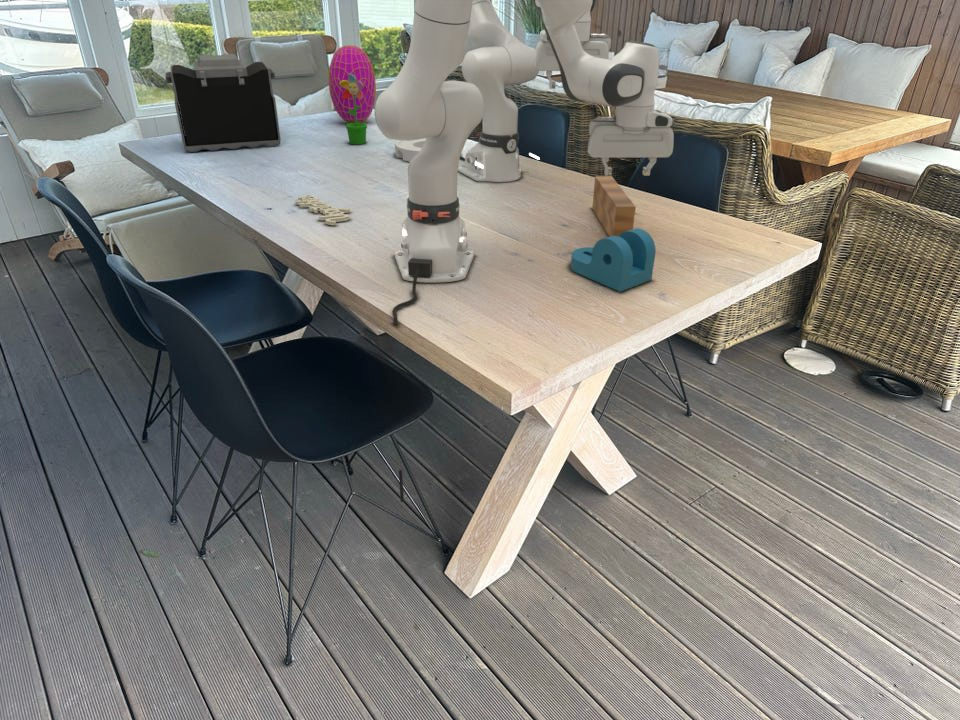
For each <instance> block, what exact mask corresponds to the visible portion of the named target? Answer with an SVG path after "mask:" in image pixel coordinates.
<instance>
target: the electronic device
mask: <svg viewBox="0 0 960 720" xmlns="http://www.w3.org/2000/svg"><path fill="white" fill-rule="evenodd" d="M197 58H198V59H197V60H195V61H193V67H194V69H193V68H189V67H187V66H184V65H181V64H171V65H170V71H167V72H165V74H164V75H165V82H166V84H171V85H172V90H173V94H174V106H175V107H174V108H175V111H176V112H175V113H176V116H177V121H178V126H179V131H180V136H181V141H182V146H183V149H184V150H185V151H186V152H187V153H188V152H189V153H199V152H200V151H202V150H203V151H204V150H207V151H210V152H214V151H219V150H220V149H228V150H239V149H240V148H245V147H247V148H250V149H255V148H258V147H260V146H267V147H277V146H279V145H281V141H282V139H281V131H280V125H279V117H278V109H277V102H276V97H275V95H274V89H273V81H272V80H273V79H276V73H275V71H274V70H273V69H272V68H270V67H268V66H266V64H265V63H264V62H263V61H255V62H253V63H251V64H249V65H247V66H246V65H245V63H244V62H243V60H241V59H239V58H238V57H237V55H236V54H235V53H222V54H218V55H215V54H213V55H212V54H198V57H197Z"/></svg>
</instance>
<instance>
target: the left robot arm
mask: <svg viewBox="0 0 960 720" xmlns="http://www.w3.org/2000/svg"><path fill="white" fill-rule="evenodd" d="M472 1H473V0H415V1H414V2H415V3H414V10H413V11H414V12H413V20H412V30H411V37H410V44H409V49H408V53H407V54H406V58H405V61H404V62H403V65H402V67H401V69H400V71H399V72H398V74H397V76H396V77H395V79H393V81H392V82H391V84H390V85H389V86H387V88H385V90H383V91H382V92H381V93H380V94H379V95H378V97H377V99H376V100H375V103H374V110H373V111H374V113H373V114H374V119H375V123H376V126H377V127H378V129H379V131H380V132H381V134H382V135H383V136H384V137H386V139H388V140H392V141H393V140H394V141H398V140H405V141H411V140H418V139H424V138H426V140H425V143H424V145H423V147H422V149H421V150H420V152H419V153H418V154H417V155H415V156H414V157H413V158H412V160H411V161H410V162H409V163H408V168H407V184H408V186H407V187H408V198H407V199H406V211H407V213H406V214H407V217H406V218H405V219H404V220H403V221H402V223H401V231H402V242H401V244H400V247H401V249H400V250H397V251H395V252H394V259H395V262H396V264H397V267H398V269H399V272H400V274H401V277H402V279H403V280H405V281H408V282H412V289H411V290H412V291H411V292H412V296H413V297H412V298H411V299H409V300H407V301H404V302H403V301H402V302H401V303H398V304H396V305H395V306H394V307H393V308H392V311H391V312H392V316H393V327H397V326H398V314H397V310H399V309H400V308H403V307H406V306H408V305H410V304H413V303H415V302H416V300H417V299H418V295H417V283H431V284H433V283H435V284H437V283H451V282H457V281H461V280H464V279H466V277H467V274H468V273H469V269H470V267H471V265H472V262H473V260H474V257H475V251H473V250H471V249H468V245H469V243H468V242H467V241H466V238H467V236H468V232H467V231H466V221H465V220H464V219H463V218H461V216H460V208H461V207H460V206H461V205H460V198H459V197H458V173H459V171H458V167H459V163H460V160H461V159H460V156H462V153H463V149H464V147H465V145H466V143H467V141H468V138H469V137H470V135H471V134H472V132H473V131H474V130H475V129H476V128H477V127H478V126H479V124H480V123H481V122H482V121H483V114H484V100H483V96H482V94H481V92H480V90H479V89H478V88H477V86H475V85H474V84H472V83H468V82H466V81H461V80H455V79H454V80H447V78H448V77H449V76H450V75H451V74H452V73H453V72H454V71H455V70H456V69H457V68H459V67H460V65H462V61H463V59H464V57H465V55H466V53H467V52H466V51H467V46H468V45H467V44H468V32H469V25H470V18H471V10H472ZM537 1H538V3H539V5H540V8H541V15H540V19H541V23H542V27H543V30H545V32H546V35H547V37H548V40H549V42H550V45H551V47H552V50H553V52H554V55H555V57H556V60H557V62H558V65H559V68H560V71H559V72H560V78H561V84H562V85H561V86H562V89H563V91H564V93H565V95H566V96H567V97H568V98H569V99H570V100H572V101H575V102H583V103H591V104H595V105H599V106H605V107H611V108H614V107H615V110H614V116H597V117H595V118H593V119H591V121H590V122H589V124H588V134H589V138H588V144H587V153H588V155H589V156H590V158H595V159H596V158H597V159H598V158H599V159H600V160H601V163H602V165H603V167H604V171H603V172H604V174H603V175H604V176H612V175H613V174H612V173H613V168H612V167H611V166H608V163H609V160H610V158H612V159H614V158H616V159H617V158H618V159H619V158H620V159H622V158H623V159H624V158H625V159H628V158H635V159H636V158H637V159H638V158H648V160H649V162H648V163H647V165H646V166H642V172H641V175H642V176H644V177H645V176H647V177H648V176H650V175H651V170H652V169H653V167H654V166H655V164H656V163H657V158H669V157H671V155H672V154H673V152H674V142H675V139H674V138H675V136H674V135H675V134H674V131H673V129H672V125H673V121H674V120H673V118H672V116H670V115H669V114H668V113H666V112H663V111H661V110H659V109H655V91H656V88H657V85H658V81H659V80H658V79H659V71H660V55H659V49H658V47H656V45H654V44H652V43H650V42H649V43H648V42H643V41H642V42H641V41H636V40H629V41H626V42H625V44H624V45H623V48H622V49H621V50H620V51H619V52H618V53H617V54H615V55H613V56H611V57H609V59H603V58H597V57H593V56H591V55H589V54H588V53H586V52H585V51H584V50H583V49H582V46H581V44H580V41H579V38H578V35H577V33H576V30H575V27H574V24H575V23H576V22H577V21H578V20H579V19H580V18H581V17H582V16H583V15H584V14H585V13H586V12H587V10H588V9H589V7H590V5H591V2H592V0H537ZM398 479H399V481H398V483H399V497H400V498H399V499H400V503H404V502H405V499H404V498H405V497H404V480H403V469H400V470H398Z"/></svg>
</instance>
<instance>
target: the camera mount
mask: <svg viewBox="0 0 960 720" xmlns="http://www.w3.org/2000/svg"><path fill="white" fill-rule="evenodd" d="M655 259H656V245H655V241H654V239H653V238H652V236H651V235H650V234H649V232H647V230H644V229H642V228H638V227H637V228H633V229H632V230H629V231H626V232H623V233H621V234H620V235H619V236H610V237H609V236H607V237H604V238H600V239H599V240H597V241H596V242H595V244H594V245H593V246H587V247H586V246H585V247H580V248H575V249H574V250H573V251H572V252H571V257H570V270H572V271H573V272H575V273H576V274H578V275H581V276H583V277H585V278H587V279H590V280H591V281H594V282H597V283H599V284H601V285H604V286H606V287H609V289H612V290H614V291H617V292H619V293H621V292H624V291H626V290H629V289H631V288H635V287H637V286H639V285H641V284H644V283H647V282H650V281H652V278H653V273H654V266H655Z"/></svg>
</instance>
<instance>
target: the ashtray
mask: <svg viewBox="0 0 960 720" xmlns="http://www.w3.org/2000/svg"><path fill="white" fill-rule="evenodd" d="M425 140H426V138H424V139H418V140H411V141H405V140H396V141H395V143H394V152H395V153H394V154H395V158H397V159H402V160H403V161H404V162H409V163H410V161H411V160H412V158H413V157H414V156H415V155H417V154H418V153H419V152H420V150H421V149H422V147H423V145H424V143H425Z"/></svg>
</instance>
